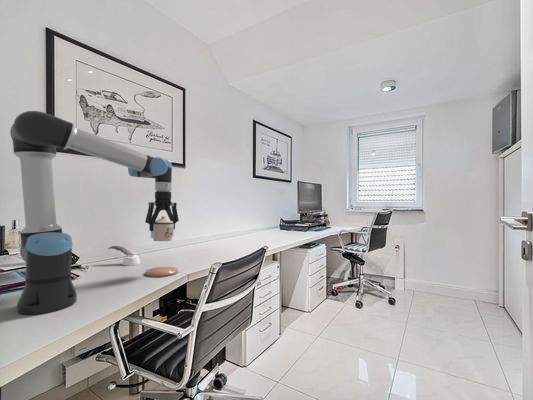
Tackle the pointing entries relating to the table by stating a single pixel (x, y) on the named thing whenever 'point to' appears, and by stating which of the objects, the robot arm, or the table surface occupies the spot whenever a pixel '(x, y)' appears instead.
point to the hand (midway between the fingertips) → (162, 237)
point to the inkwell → (130, 258)
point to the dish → (161, 272)
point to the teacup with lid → (163, 230)
